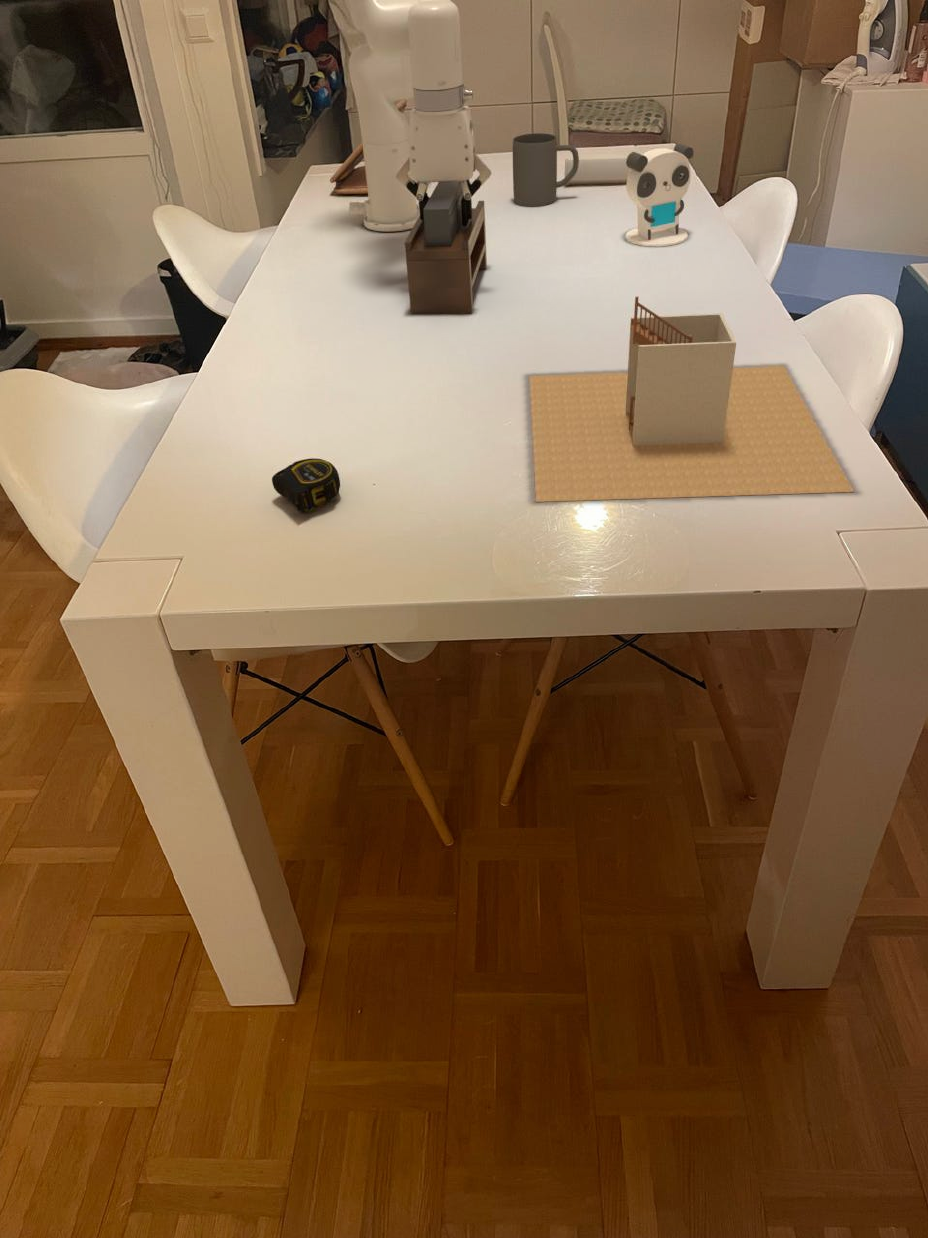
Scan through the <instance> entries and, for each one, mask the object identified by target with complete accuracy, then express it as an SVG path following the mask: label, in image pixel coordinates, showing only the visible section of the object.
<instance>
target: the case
mask: <svg viewBox="0 0 928 1238" xmlns="http://www.w3.org/2000/svg"><path fill="white" fill-rule="evenodd" d="M407 103H408V99H401V100H400V101H399V102H398V103H397V104H396V105H395V107H396V108H397V109H398V110H399V111H400V112H401V113H402V114H404V113H405V110H406V108H407ZM363 160H364V154H363V145H362V141H361V142H360V143H359V144H358V146H356V148H355V149H354V150H353V152H352V153H351V154H350V155H349V156H348V157H347V159H346V160H345V161H344V162H343V163H342V164H341V165H340V166H339V168H338V169H337V170H336V171H335V172H334V174H332V176H331V177H330V179H329V183H331V184H334V183H335V187H334V188H333V192H334V193H335V194H336V195H337V194H338V195H357V194H358V195H362V194H364V195H366V194H367V195H368V188H367V180H366V171H365V165H362V166H358V165H359V164H361V162H362V161H363ZM357 166H358V167H357ZM414 181H415V182H416V183H417V184H418V185H419V183H420V182H418V181H416V180H414Z"/></svg>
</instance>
